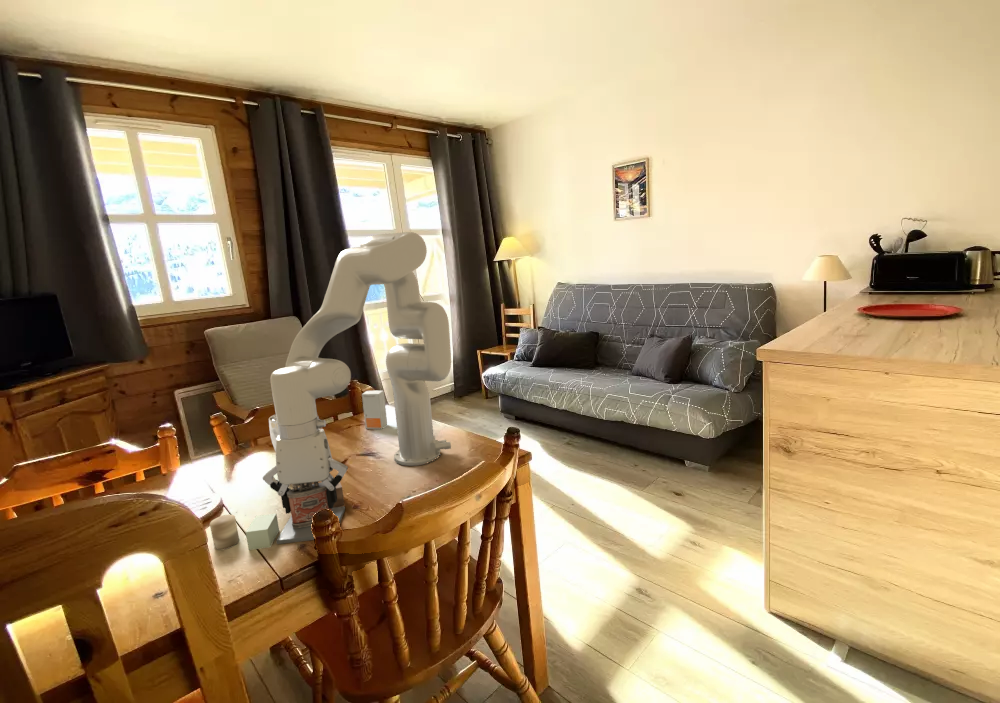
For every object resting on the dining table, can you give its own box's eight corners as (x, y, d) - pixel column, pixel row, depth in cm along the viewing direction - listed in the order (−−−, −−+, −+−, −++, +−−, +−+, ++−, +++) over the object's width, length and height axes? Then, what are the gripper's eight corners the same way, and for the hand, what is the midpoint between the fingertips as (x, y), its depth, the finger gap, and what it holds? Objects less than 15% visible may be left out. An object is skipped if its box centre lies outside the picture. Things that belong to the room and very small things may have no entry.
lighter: (292, 530, 99) (285, 484, 96) (292, 522, 102) (285, 478, 100) (334, 519, 102) (327, 475, 100) (332, 512, 105) (326, 469, 103)
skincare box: (365, 429, 158) (361, 394, 156) (370, 424, 162) (366, 390, 160) (382, 429, 157) (378, 393, 155) (388, 424, 161) (384, 390, 159)
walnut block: (341, 497, 114) (338, 479, 113) (344, 505, 110) (342, 487, 109) (321, 502, 112) (318, 484, 111) (323, 511, 108) (321, 492, 107)
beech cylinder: (242, 535, 100) (238, 513, 99) (234, 547, 95) (230, 525, 94) (219, 538, 99) (215, 516, 98) (210, 551, 95) (205, 528, 94)
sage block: (276, 513, 100) (255, 516, 99) (267, 529, 94) (245, 532, 94) (279, 530, 101) (258, 533, 100) (270, 547, 95) (248, 550, 94)
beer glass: (294, 475, 127) (285, 421, 124) (270, 474, 128) (261, 420, 125) (309, 464, 133) (301, 412, 130) (286, 463, 135) (278, 411, 132)
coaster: (345, 509, 108) (344, 506, 107) (334, 537, 97) (333, 533, 97) (294, 515, 106) (293, 511, 106) (276, 544, 96) (276, 540, 96)
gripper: (346, 417, 102) (357, 494, 105) (260, 425, 100) (274, 503, 104) (339, 430, 95) (350, 512, 98) (246, 439, 93) (261, 522, 97)
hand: (311, 507), depth 101 cm, fingers closed on lighter, 8 cm apart
